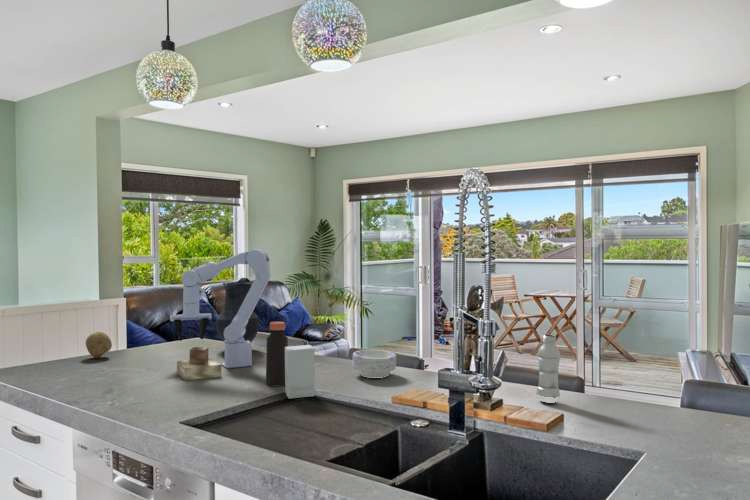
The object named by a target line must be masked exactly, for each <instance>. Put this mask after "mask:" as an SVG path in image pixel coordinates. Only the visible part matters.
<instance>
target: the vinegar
mask: <svg viewBox="0 0 750 500" xmlns="http://www.w3.org/2000/svg"><path fill="white" fill-rule="evenodd" d="M285 331H286V322H284V321H271V322H270V323H269V332H270V334H269V335H268V336H267V337H266V351H265V352H266V354H265V355H266V357H265V358H266V359H265V361H266V365H265V367H266V368H265V369H266V371H265V372H266V373H265V384H266V385H267V384H268V385H267V386H269V385H283V384H285V347H289V346H288V345H289V338H288V336H287V335H286V334H285ZM283 386H284V385H283Z"/></svg>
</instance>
